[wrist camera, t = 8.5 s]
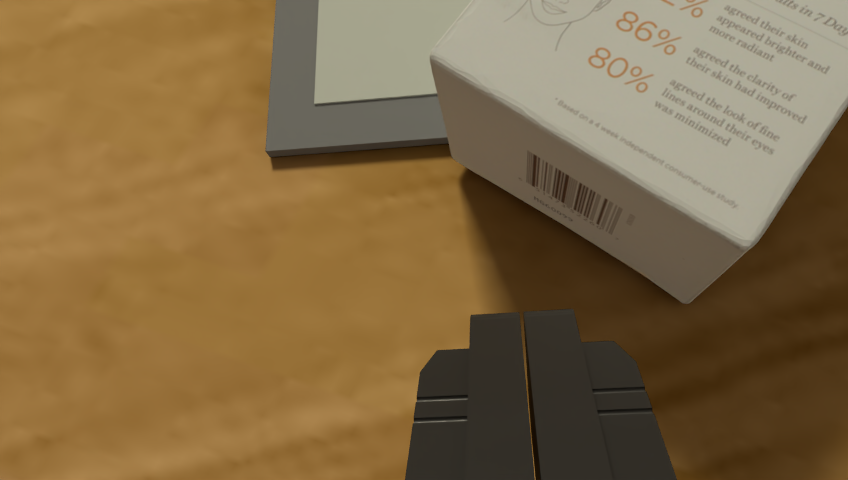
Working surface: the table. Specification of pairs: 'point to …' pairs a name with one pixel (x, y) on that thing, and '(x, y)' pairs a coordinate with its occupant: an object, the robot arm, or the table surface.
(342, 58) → the e-reader
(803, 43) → the small box
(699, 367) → the table surface
